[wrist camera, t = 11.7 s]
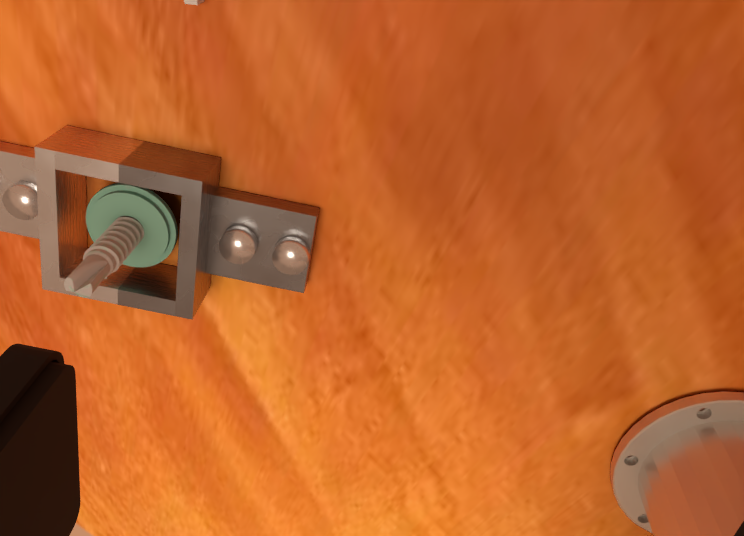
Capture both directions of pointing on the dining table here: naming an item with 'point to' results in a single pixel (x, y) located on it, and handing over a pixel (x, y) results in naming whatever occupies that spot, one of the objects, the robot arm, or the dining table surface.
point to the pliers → (193, 2)
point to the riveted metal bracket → (197, 221)
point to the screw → (123, 234)
